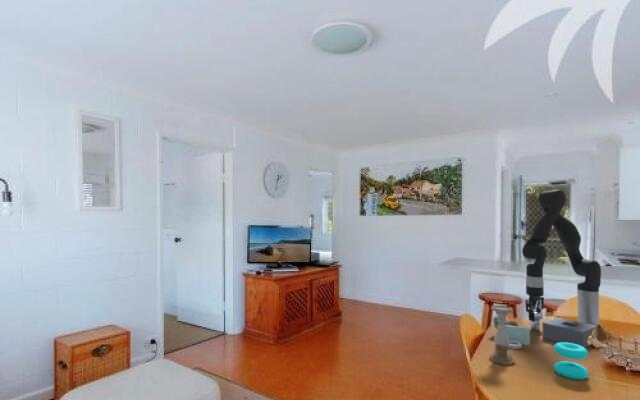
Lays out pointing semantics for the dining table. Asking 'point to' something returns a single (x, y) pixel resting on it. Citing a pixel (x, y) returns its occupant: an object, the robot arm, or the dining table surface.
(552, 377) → the dining table surface
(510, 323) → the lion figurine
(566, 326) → the socket block
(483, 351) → the dining table surface
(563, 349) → the donuts
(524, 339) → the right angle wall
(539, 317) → the steel pin
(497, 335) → the candle holder
